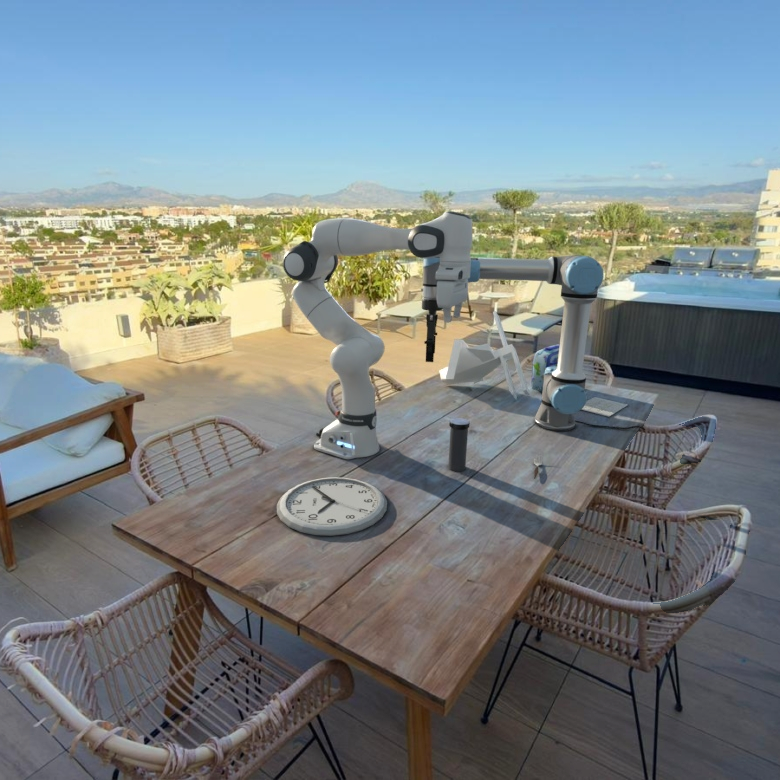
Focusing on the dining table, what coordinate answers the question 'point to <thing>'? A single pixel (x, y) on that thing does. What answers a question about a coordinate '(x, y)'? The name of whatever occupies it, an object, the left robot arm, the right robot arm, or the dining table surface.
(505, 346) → the white plastic object
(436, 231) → the left robot arm
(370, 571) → the dining table surface
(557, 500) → the dining table surface
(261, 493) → the dining table surface
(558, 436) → the dining table surface
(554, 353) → the lunch box
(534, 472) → the fork
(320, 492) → the wall clock
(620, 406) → the invitation card
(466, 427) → the lid
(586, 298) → the right robot arm
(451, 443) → the jar
